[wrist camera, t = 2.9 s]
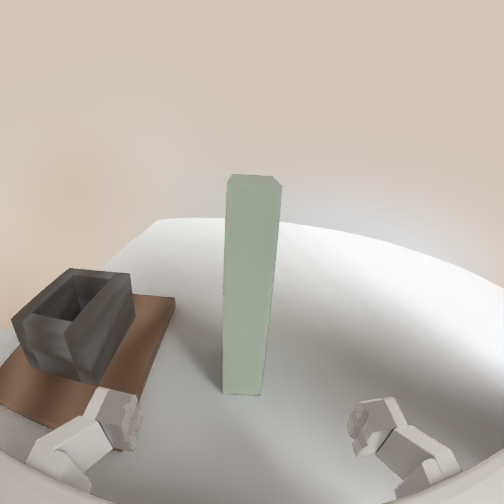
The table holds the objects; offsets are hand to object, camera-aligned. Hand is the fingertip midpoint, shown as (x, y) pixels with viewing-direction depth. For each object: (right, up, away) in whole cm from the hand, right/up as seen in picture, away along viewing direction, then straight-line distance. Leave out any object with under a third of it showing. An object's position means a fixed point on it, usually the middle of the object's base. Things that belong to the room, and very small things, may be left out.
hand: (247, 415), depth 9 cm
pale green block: (-1, -5, +15) cm, 15 cm away
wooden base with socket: (-16, -4, +14) cm, 21 cm away
